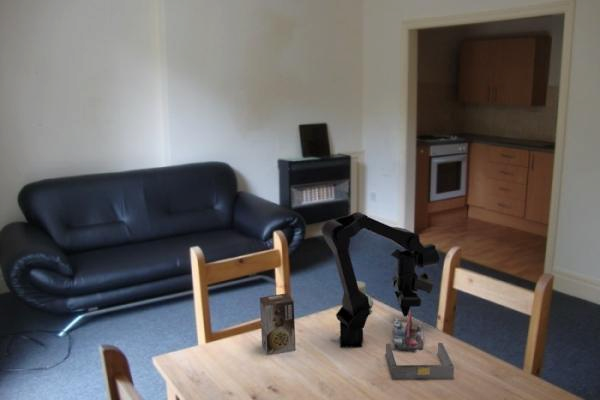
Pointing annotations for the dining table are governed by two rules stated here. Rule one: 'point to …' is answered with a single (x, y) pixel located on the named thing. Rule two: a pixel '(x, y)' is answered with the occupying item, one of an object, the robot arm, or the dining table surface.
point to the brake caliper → (407, 335)
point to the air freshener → (363, 289)
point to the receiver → (421, 367)
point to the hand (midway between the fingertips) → (405, 315)
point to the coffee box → (277, 323)
